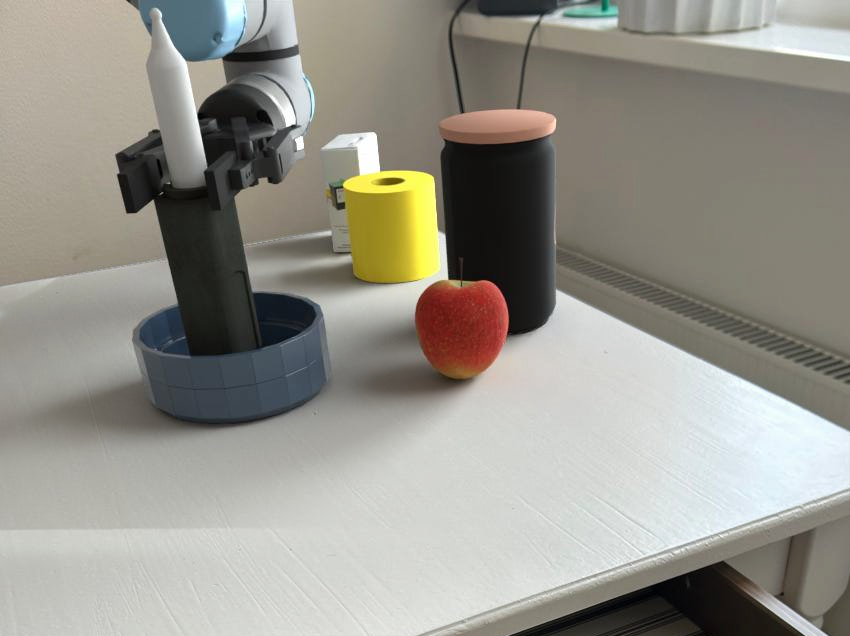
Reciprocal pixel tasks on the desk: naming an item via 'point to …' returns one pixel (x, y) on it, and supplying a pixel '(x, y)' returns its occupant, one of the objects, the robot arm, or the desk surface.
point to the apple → (461, 326)
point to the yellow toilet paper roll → (392, 226)
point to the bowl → (236, 363)
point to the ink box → (346, 177)
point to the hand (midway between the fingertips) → (169, 192)
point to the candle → (197, 219)
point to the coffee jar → (503, 207)
